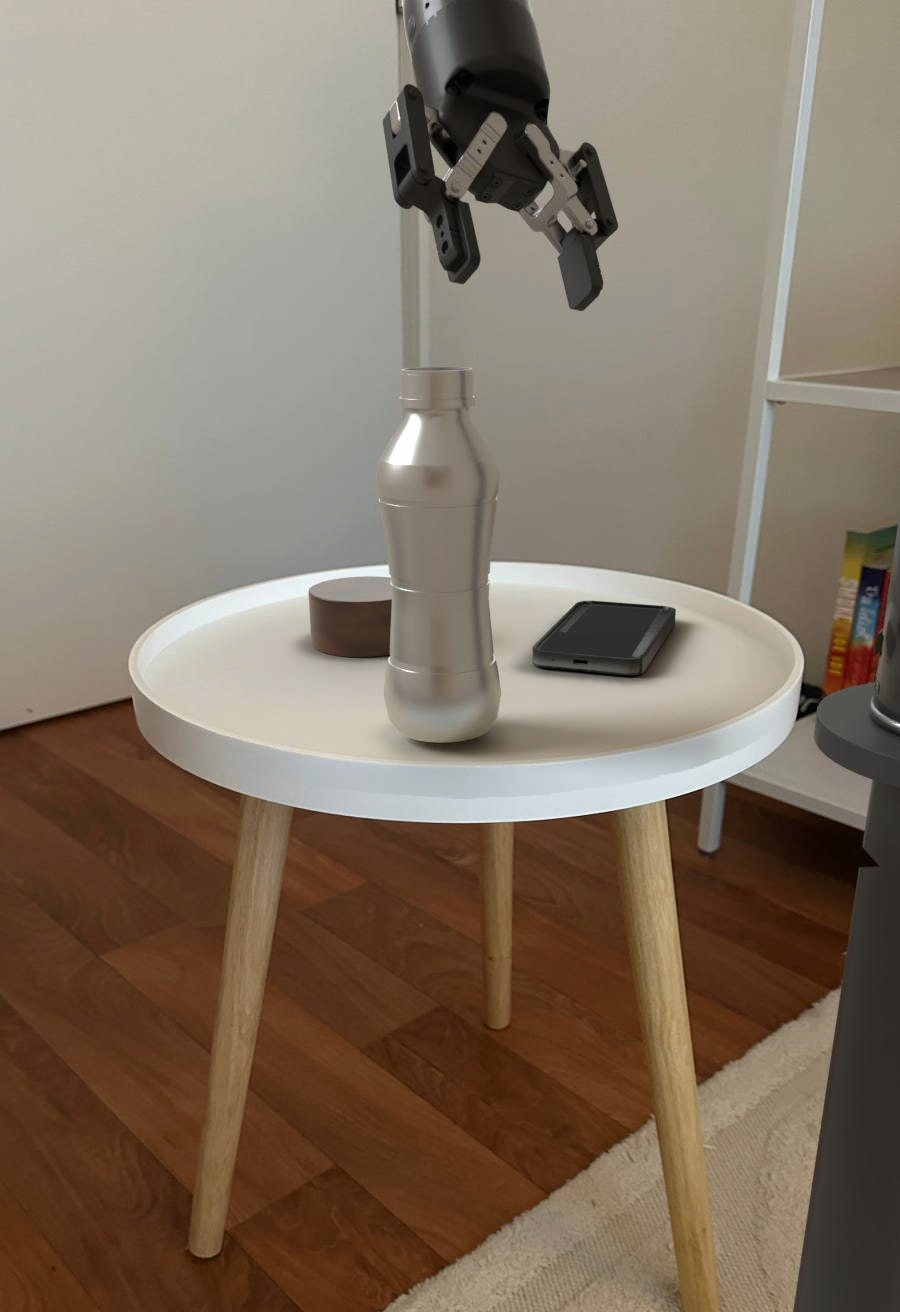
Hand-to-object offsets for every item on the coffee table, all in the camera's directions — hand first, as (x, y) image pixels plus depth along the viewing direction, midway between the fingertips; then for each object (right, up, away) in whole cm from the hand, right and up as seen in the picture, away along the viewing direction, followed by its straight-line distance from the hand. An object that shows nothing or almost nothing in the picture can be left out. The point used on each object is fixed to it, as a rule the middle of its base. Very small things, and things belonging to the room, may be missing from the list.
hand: (528, 289), depth 65 cm
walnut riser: (-11, -17, +20) cm, 29 cm away
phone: (+7, -17, +19) cm, 27 cm away
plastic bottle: (-5, -25, +2) cm, 26 cm away
